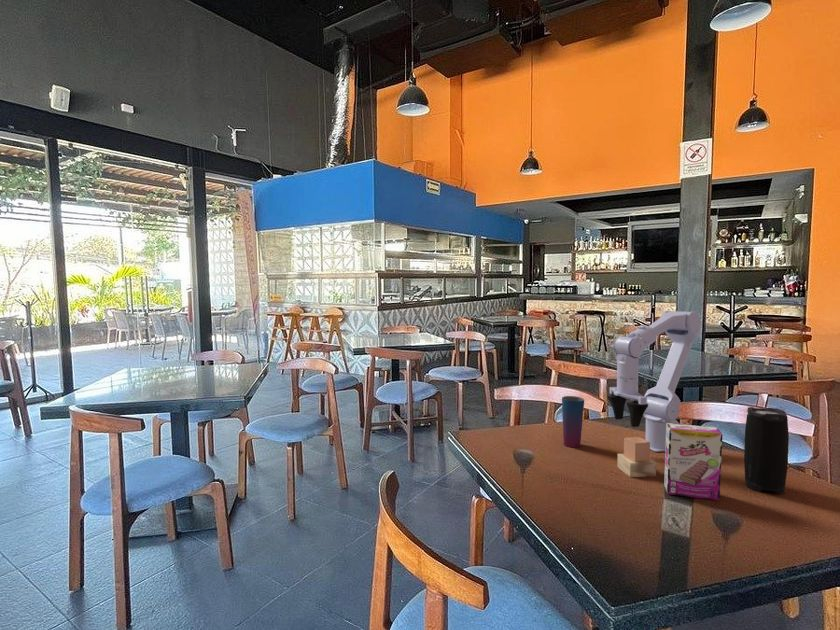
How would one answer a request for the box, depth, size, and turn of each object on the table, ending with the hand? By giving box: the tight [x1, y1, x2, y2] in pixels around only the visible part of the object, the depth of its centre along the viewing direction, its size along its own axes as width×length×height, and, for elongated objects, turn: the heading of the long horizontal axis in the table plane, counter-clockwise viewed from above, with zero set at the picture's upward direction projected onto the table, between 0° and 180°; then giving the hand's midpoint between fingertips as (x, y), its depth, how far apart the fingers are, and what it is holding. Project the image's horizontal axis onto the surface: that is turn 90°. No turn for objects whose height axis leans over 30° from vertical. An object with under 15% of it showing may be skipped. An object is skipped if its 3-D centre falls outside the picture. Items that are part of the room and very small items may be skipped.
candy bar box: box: [663, 423, 724, 501], centre depth 108 cm, size 11×5×16 cm, turn 71°
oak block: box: [616, 453, 657, 478], centre depth 123 cm, size 7×7×4 cm
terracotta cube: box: [623, 436, 651, 462], centre depth 122 cm, size 4×4×5 cm
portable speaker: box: [743, 406, 790, 495], centre depth 111 cm, size 9×9×20 cm
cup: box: [561, 395, 585, 448], centre depth 144 cm, size 7×7×15 cm
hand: (626, 422), depth 134 cm, fingers open, 7 cm apart
